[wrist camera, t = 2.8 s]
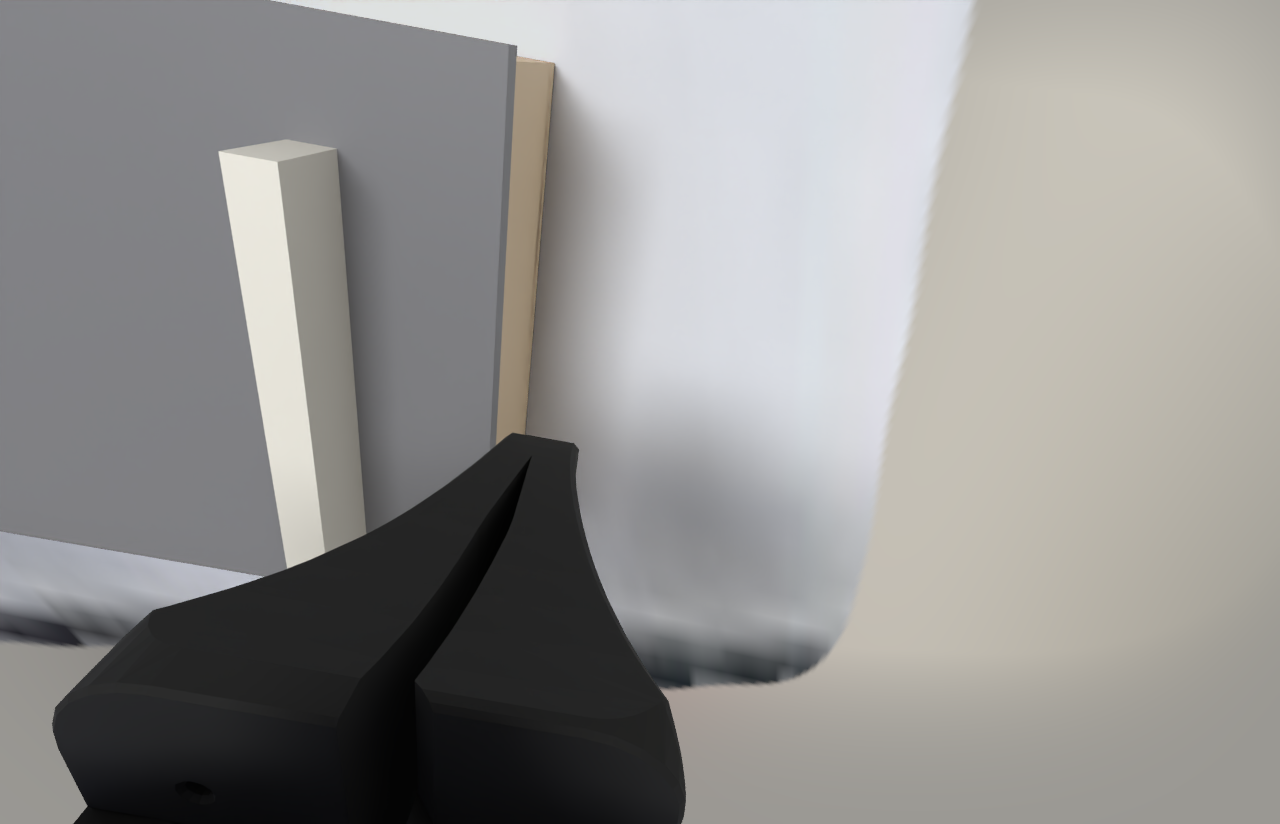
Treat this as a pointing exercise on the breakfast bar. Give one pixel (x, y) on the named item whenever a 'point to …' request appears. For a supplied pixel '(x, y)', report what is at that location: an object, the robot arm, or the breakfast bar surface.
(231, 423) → the grey square slab
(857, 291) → the breakfast bar surface
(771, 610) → the breakfast bar surface
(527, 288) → the storage box
